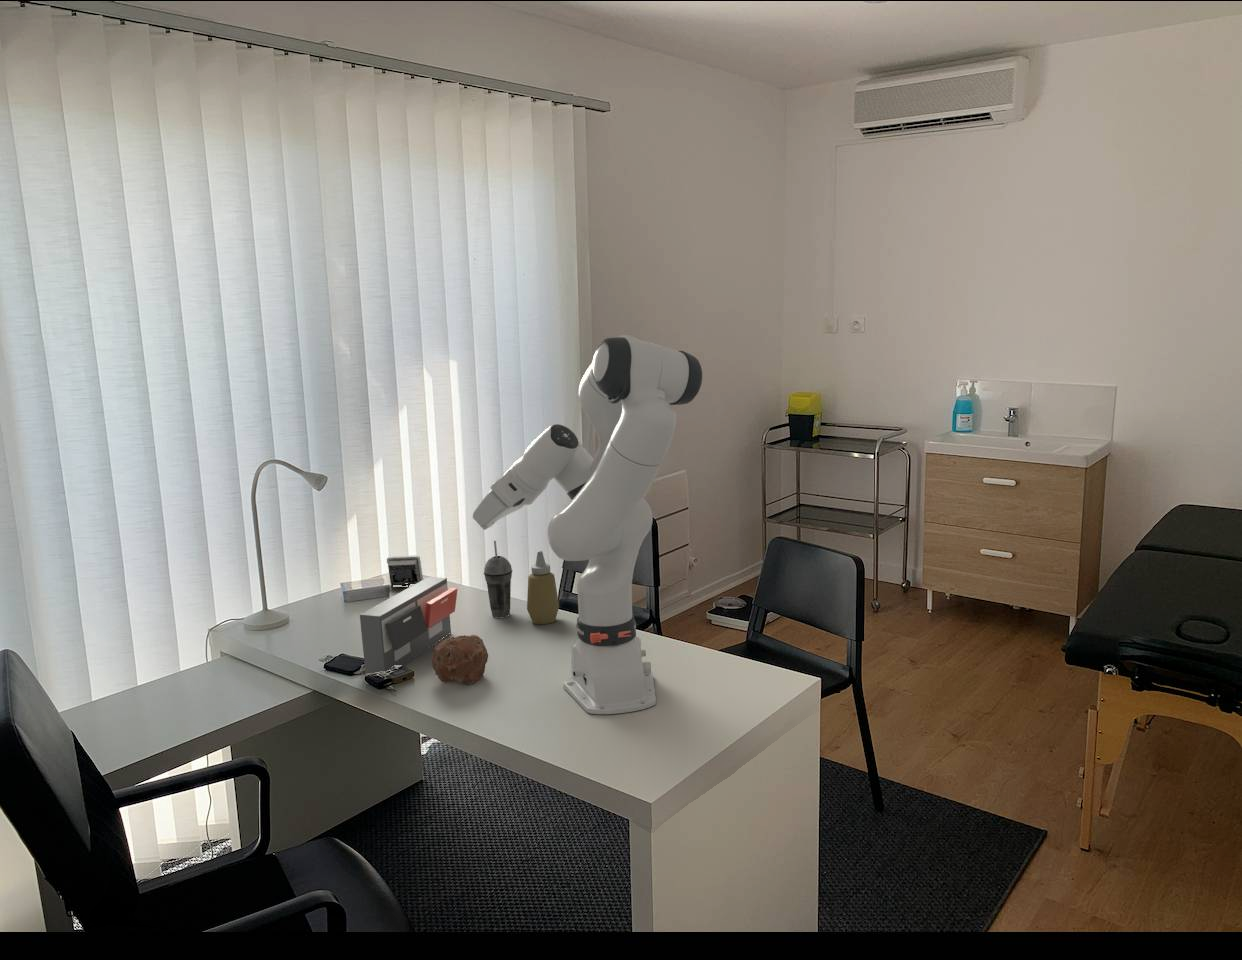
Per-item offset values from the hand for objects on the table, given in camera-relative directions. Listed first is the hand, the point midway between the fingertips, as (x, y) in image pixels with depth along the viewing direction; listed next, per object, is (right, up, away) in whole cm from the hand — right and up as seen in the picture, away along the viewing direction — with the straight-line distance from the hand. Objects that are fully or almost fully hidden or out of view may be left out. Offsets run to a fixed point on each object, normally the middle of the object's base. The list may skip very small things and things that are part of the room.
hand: (484, 526), depth 209 cm
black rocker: (-16, -25, -4) cm, 30 cm away
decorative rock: (-4, -32, -11) cm, 34 cm away
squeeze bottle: (+11, -25, +23) cm, 36 cm away
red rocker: (-12, -22, +9) cm, 27 cm away
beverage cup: (0, -24, +29) cm, 38 cm away
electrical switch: (-31, -20, +57) cm, 68 cm away
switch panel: (-18, -30, +5) cm, 35 cm away
